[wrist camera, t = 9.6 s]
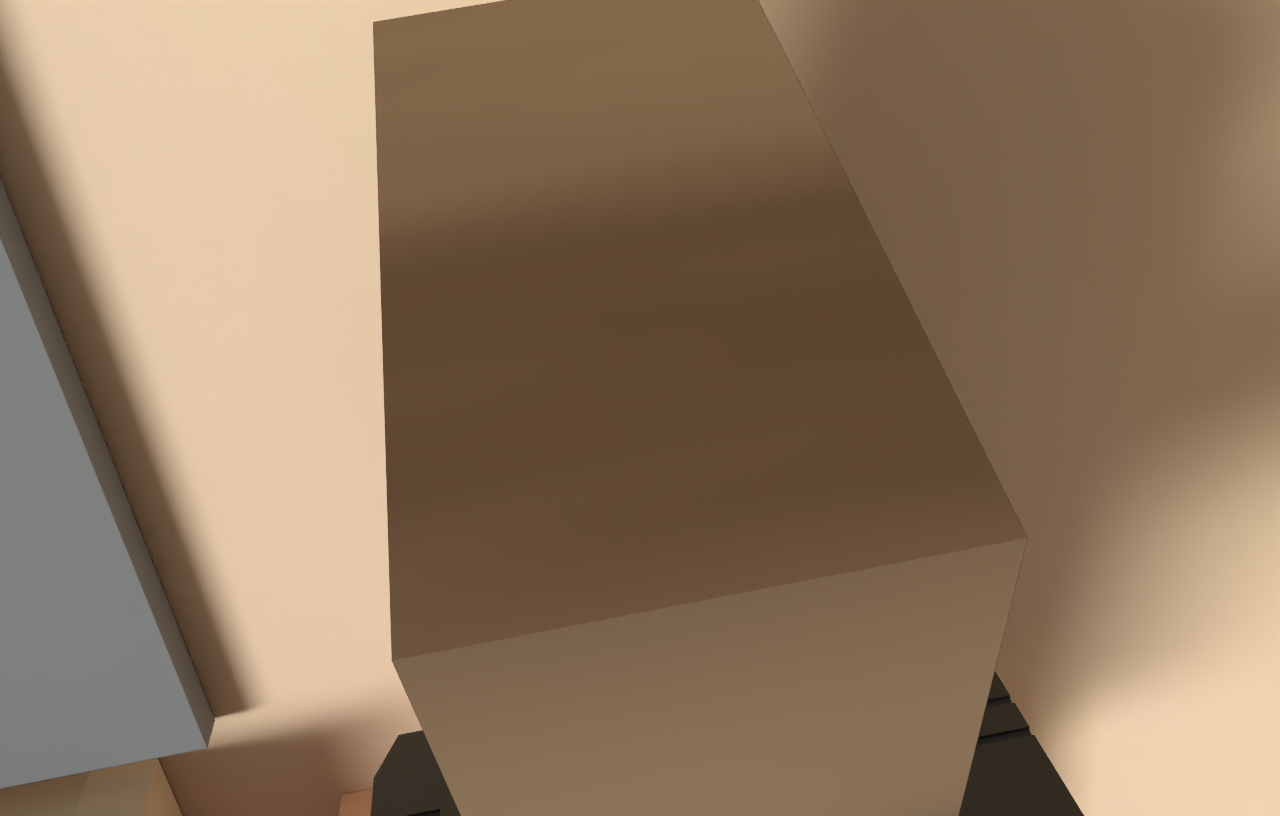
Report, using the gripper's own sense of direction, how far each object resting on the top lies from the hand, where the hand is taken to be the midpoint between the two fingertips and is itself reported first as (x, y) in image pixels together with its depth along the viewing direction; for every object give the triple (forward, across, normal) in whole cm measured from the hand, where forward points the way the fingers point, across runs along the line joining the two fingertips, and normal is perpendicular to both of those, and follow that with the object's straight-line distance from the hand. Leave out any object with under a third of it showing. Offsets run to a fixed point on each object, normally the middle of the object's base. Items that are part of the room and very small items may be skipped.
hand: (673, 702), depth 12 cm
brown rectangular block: (+3, 0, -1) cm, 3 cm away
